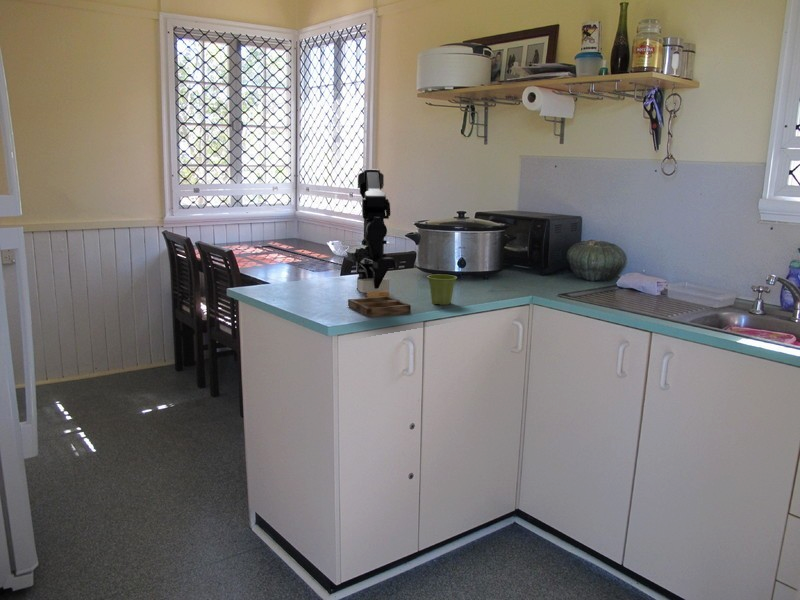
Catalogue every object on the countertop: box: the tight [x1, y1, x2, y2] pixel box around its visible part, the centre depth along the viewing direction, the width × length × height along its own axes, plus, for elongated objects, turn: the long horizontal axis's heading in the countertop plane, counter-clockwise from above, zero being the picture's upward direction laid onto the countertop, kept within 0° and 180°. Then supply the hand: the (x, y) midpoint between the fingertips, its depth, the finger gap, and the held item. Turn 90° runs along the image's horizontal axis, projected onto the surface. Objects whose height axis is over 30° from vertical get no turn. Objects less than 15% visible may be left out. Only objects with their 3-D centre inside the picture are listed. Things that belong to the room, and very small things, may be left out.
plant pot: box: [426, 273, 458, 306], centre depth 214 cm, size 9×9×9 cm
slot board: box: [347, 295, 412, 318], centre depth 202 cm, size 14×14×2 cm
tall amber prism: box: [366, 290, 390, 298], centre depth 218 cm, size 9×4×4 cm, turn 29°
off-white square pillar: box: [357, 277, 390, 294], centre depth 204 cm, size 9×4×4 cm, turn 118°
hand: (373, 287), depth 205 cm, fingers closed on off-white square pillar, 3 cm apart
